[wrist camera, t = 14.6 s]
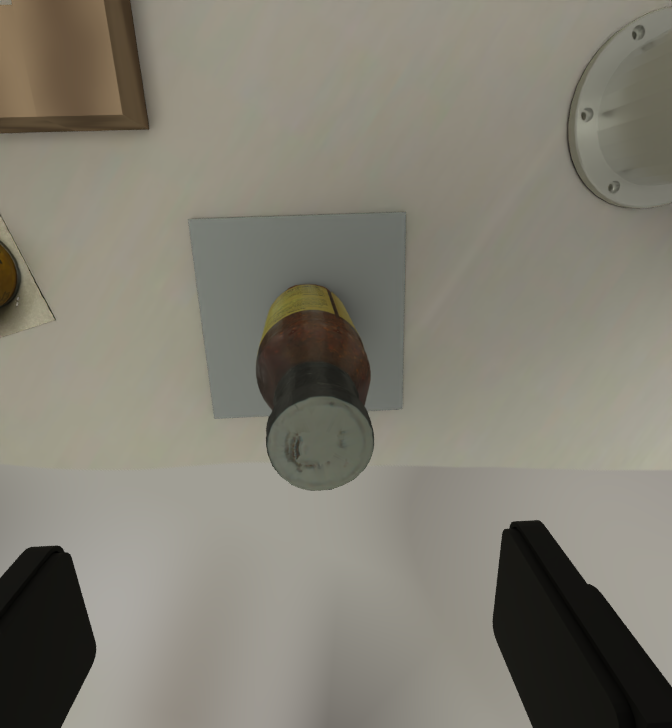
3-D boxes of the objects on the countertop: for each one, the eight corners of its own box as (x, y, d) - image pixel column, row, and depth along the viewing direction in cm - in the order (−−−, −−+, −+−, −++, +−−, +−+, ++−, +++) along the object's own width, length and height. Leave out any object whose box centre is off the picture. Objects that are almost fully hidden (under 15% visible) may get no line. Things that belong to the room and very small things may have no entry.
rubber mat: (404, 212, 33) (405, 211, 32) (401, 406, 38) (402, 409, 37) (190, 219, 32) (187, 219, 32) (215, 415, 37) (214, 418, 37)
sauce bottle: (254, 333, 35) (186, 469, 16) (294, 265, 33) (269, 325, 14) (325, 373, 36) (339, 541, 17) (366, 309, 35) (430, 416, 16)
